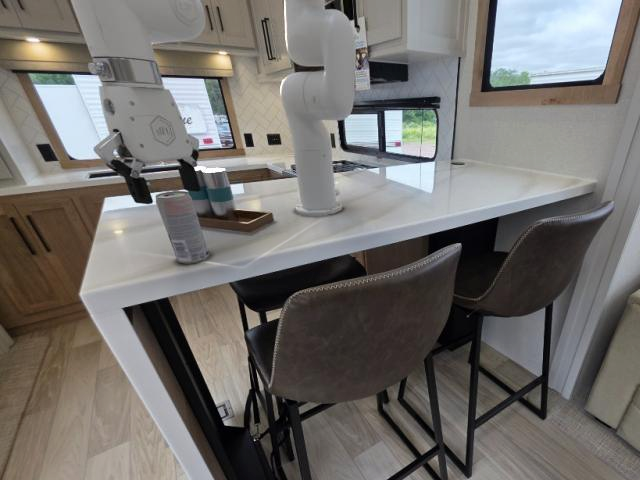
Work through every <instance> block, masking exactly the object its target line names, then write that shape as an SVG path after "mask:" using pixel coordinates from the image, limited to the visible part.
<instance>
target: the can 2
mask: <svg viewBox="0 0 640 480" xmlns="http://www.w3.org/2000/svg"><path fill="white" fill-rule="evenodd" d="M201 172H202V175H203V179H204V182H205V186H206V190H207V193H208V197H209V200H210V203H211V206H212V210H213V213H214V217H215V219H217V220H226V221H235V222H239V219H238V215H237V211H236V209H237V208H236V204H235V199H234V193H233V190H232V187H231V184H230V180H229V176H228V175H229V174H228V171H227V168H222V167H213V168H206V169H205V170H202V171H201Z"/></svg>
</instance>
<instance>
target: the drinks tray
mask: <svg viewBox="0 0 640 480" xmlns="http://www.w3.org/2000/svg"><path fill="white" fill-rule="evenodd" d="M236 211H237V215H238V219H239V222H235V221H226V220H217V219H209V218H200V217H198V220H199V223H200V226H201V228H207V229H217V230H224V231H233V232H241V233H249V234H251V233H252V232H254V231H256V230H258V229H260V228H262V227H264V226H266V225H268V224H270V223H272V222H274V221H275V219H274V214H273V212H272V211H261V210H251V209H241V208H236Z"/></svg>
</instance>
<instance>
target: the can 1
mask: <svg viewBox="0 0 640 480" xmlns="http://www.w3.org/2000/svg"><path fill="white" fill-rule="evenodd" d="M205 169H207V168H206V167H205V166H197V167H196V168H195V170H196V174H197V177H198V181H199V185H200V188H201V191H198V192H196V191H187V192H188V193H189V195H190V196H191V198H192V201H193V204H194V208H195V211H196V214H197V217H200V218H209V219H215V217H214V213H213V210H212V206H211V203H210V200H209V197H208V193H207V190H206V186H205V182H204V179H203V175H202V172H201V171H202V170H205Z"/></svg>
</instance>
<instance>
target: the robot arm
mask: <svg viewBox="0 0 640 480" xmlns="http://www.w3.org/2000/svg"><path fill="white" fill-rule="evenodd" d="M283 1H284V2H283V3H284V31H285V33H284V35H285V36H284V37H285V46H286V51H287V54H288V56H289V58H290V59H291V61H292V62H294V63H295V64H296V65H297V66H298V65H299V66H303V67H323V68H324V71H297V72H293V73H290V74H288V75H286V76H285V77H284V79H283V80H282V82H281V85H280V88H279V89H280V90H279V94H280V96H279V97H280V100H281V101H280V102H281V104H282V107H283V110H284V111H283V112H284V114H285V117H286V120H287V123H288V129H289V133H290V139H291V145H292V152H293V160H294V166H295V172H296V178H297V187H298V192H299V193H298V194H299V199H300V203H298V204H296V206H295V211H296V212H297V213H299V214H301V215H310V216H320V215H321V216H323V215H327V216H329V215H334V214H336V213H339V212H340V211H342V209H343V203H341V202H340V201H337V197H338V196H339V195H340V194H341V191H340V189H339V188H336V184H335V174H334V164H333V152H332V143H331V142H332V141H331V136H330V134H329V132H328V129H327V127H326V125H325V124H324V122H323V121H343V120H346V119H348V118H349V116H350V115H351V113H352V111H353V108H354V102H355V84H356V56H357V55H356V53H357V52H356V50H357V47H356V46H357V45H356V37H355V32H354V29H353V26H352V23H351V20H350V19H349V17H348V16H347V15H346V14H345V13H344V12H342V11H341V10H339V9H334V8H330V9H326V1H325V0H283ZM70 3H71V5H72V8H73V10H74V13H75V16H76V18H77V21H78V24H79V26H80V29H81V32H82V35H83V38H84V40H85V43H86V45H87V48H88V52H89V54H90V56H91V59H92V62H88V63H87V69H88V70H89V73H90V74H92V75H94V76H95V75H96V76H98V79H99V81H100V84H101V85H99V86H98V93H99V98H100V104H101V105H100V106H101V108H102V112H103V117H104V120H105V124H106V126H107V130H108V133H109V134H108V135H107V136H106V137H105V138H103V139H102V140H101V141H100V142H98V143H97V144H96V145H95V146H94V147H93V152H94V153H95V154H96V155H97V156H98V157H99V158H100V159H101V161H103V162H104V163H105V165H106V167H108V168H109V169H111V170H112V171H114V172H115V173H117V175H118V176H119V177H121V178H124V181H125V184H126V186H127V188H128V191H129V193H130V197H131V198H132V199H133V201H134V203H136V204H142V205H151V204H153V203H154V200H153V197H152V195H151V191H150V188H149V186H148V182H147V180H146V178H145V177H144V176H140V175H141V173H142V170H143V167H144V164H145V163H146V164H154V163H163V162H169V161H175V162H176V163H177V164H178V165H179V166H178V167H177V168H178V169H177V170H178V173H179V177H180V180H181V182H182V187H183V189H184V190H185V191H186V192H188V191H196V192H198V191H201V188H200V185H199V181H198V177H197V174H196V170H195V168H196V167H198V159H199V158H200V157H199V156H200V152H199V151H200V150H199V149H200V140H199V138H197V137H195V136H193V135H191V134H190V133H188V131H187V128H186V125H185V123H184V119H183V116H182V114H181V112H180V109H179V107H178V104H177V102H176V100H175V98H174V96H173V94H172V92H171V91H170V89H166V88H165V85H164V82H163V78H162V75H161V71H160V68H159V65H158V62H157V61H158V60H157V58H156V54H155V51H154V47H153V44H155V45H157V44H164V43H179V42H187V41H192V40H194V39H196V38H197V37H199V36H201V34H202V33H203V31H204V29H205V26H206V12H205V9H204V6H203V3H202V0H70ZM114 151H116V154H117V155H118V157H119V158H120V159H121V160H120V159H118V158H117V156H116V155H115V154H114Z"/></svg>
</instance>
